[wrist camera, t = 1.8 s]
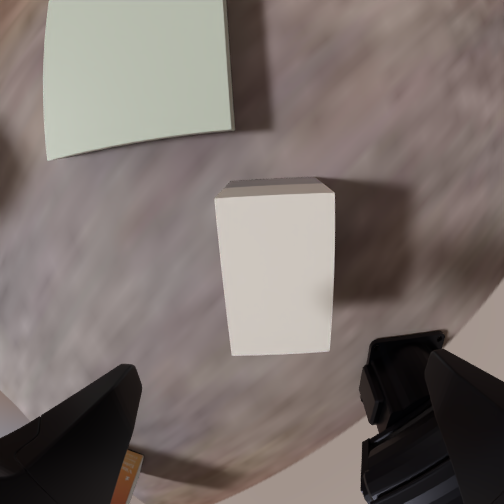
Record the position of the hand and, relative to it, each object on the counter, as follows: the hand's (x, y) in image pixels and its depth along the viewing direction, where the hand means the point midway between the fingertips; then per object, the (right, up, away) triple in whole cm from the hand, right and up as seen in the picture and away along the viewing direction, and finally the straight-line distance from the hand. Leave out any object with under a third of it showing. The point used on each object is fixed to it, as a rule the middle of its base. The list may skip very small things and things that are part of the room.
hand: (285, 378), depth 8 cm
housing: (+1, +4, +11) cm, 12 cm away
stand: (-8, +16, +8) cm, 19 cm away
